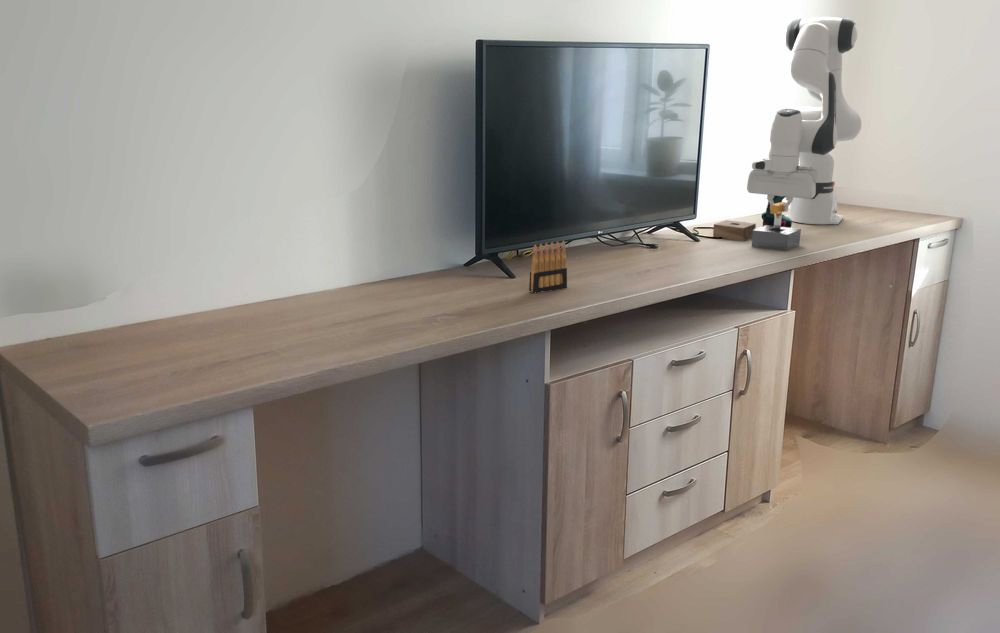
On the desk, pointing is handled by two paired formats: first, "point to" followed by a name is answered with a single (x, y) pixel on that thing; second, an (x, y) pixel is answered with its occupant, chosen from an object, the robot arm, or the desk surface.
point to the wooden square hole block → (734, 230)
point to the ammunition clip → (548, 268)
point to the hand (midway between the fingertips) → (778, 210)
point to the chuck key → (777, 215)
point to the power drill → (769, 217)
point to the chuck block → (776, 238)
